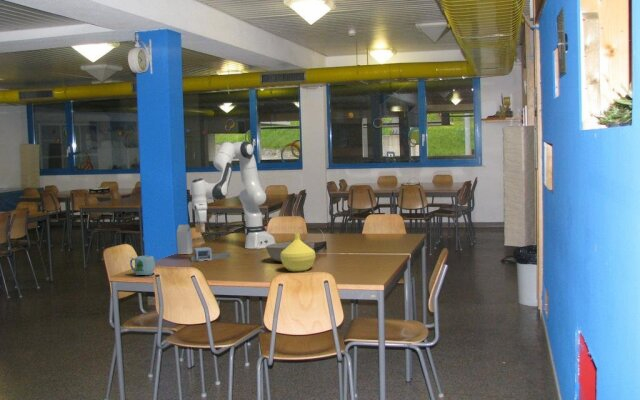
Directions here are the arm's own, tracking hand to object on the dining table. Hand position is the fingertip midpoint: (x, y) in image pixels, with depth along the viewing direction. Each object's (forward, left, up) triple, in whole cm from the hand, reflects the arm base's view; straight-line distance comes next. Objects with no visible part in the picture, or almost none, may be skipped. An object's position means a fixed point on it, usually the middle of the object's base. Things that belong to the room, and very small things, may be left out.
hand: (201, 228), depth 402 cm
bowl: (-44, +36, -19) cm, 60 cm away
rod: (-4, 0, -19) cm, 20 cm away
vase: (-39, +68, -19) cm, 81 cm away
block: (+1, 0, -2) cm, 2 cm away
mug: (+38, +32, -19) cm, 53 cm away
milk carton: (+7, -32, -19) cm, 38 cm away
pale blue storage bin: (0, 0, -19) cm, 19 cm away
